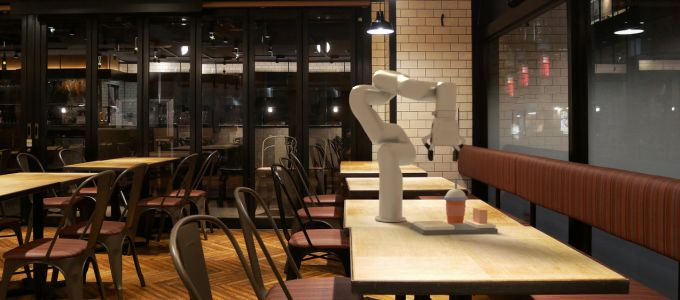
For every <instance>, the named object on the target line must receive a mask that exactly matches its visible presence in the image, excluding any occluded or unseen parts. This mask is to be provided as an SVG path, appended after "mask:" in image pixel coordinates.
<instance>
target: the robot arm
mask: <svg viewBox="0 0 680 300" xmlns="http://www.w3.org/2000/svg"><path fill="white" fill-rule="evenodd" d="M372 84H373V85H371V84H370V85H369V84H359V85H356V86H354V87H352V89H351V91H350V93H349V98H348V99H349V101H348V103H349V106H350V110H351V112H352V113H353V115H354V117H355V118H356V119H357V120H358V122H359V123H360V126H361V127H362V129H363V130H364V132H365V133H366V134H367V137H368V138H369V140H370V141H371V143H372V144H373V145H375V146H378V147H379V148H378V149H377V152H376V153H377V154H376V157H377V159H376V160H377V164H378V173H379V177H378V179H379V182H378V183H379V184H378V185H379V186H378V187H379V188H378V189H379V190H378V215H377V216H375V217H374V221H377V222H383V223H402V222H406V220H407V218H406V216H403V194H404V193H403V192H404V190H403V188H404V187H403V186H404V185H403V184H404V179H403V173H402V169H401V168H400V167H404V166H405V167H406V166H411V165H412V164H414V163H415V162H416V159H417V151H416V150H417V149H416V148H415V146H414V144H413V143H412V141H411V139H410V138H409V136H408V135H407V133H406V131H405V130H404V129H403V128H402V126H401V125H399V124H398V123H392V122H390V123H389V122H385V121H383V119H382V118H381V116H380V114H379V113H378V112H377V110H375V108H373V107H372V106H378V107H379V106H384V105H386V104H387V103H388V102H389V101H391V100H392V99H393V98H394V97H395V96H397V95H398V96H401V97H402V98H404V99H410V100H413V101H414V100H415V101H419V102H433V103H435V110H434V111H431V115H432V116H434V118H433V120H432V122H431V127H430V133H429V134H427V135H425V136H423V137H422V138H421V141H422V144H423V146H424V147H425V148H426V150H427V159H428V162H433V161H434V153H435V151H434V150H433V149H434V148H435V147H437V146H441V147H451V148H453V151H452V159H451V160H452V162H455V163H457V162H458V160H459V153H460V151H461V150H462V148H464V146H465V144H466V142H467V139H466V138H464V137H463V136H461V135H460V131H459V130H460V127H459V121H458V119H456V112H457V111H456V110H457V96H458V94H457V93H458V85H457V83H456V82H452V81H439V82H437V81H429V80H419V79H414V78H411V77H410V76H409V75H408V74H405V73H402V72H400V71H397V70H388V69H381V70H378V71H376V72H375V73H374V74H373V76H372ZM428 140H429V143H428Z"/></svg>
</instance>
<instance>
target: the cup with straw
mask: <svg viewBox="0 0 680 300" xmlns="http://www.w3.org/2000/svg"><path fill="white" fill-rule="evenodd" d="M443 199H444V200H445V211H446V219H447V220H446V221H447V222H446V223H448V224H451V223H464V221H465V220H464V218H465V213H466V201H468V196H466V193H465V191H463V190H462V189H460V188H458V177H455V178H454V188H451V189H449V190H448V191H447V193H446V194H445V195H444V197H443Z"/></svg>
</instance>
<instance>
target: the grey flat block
mask: <svg viewBox="0 0 680 300" xmlns="http://www.w3.org/2000/svg"><path fill="white" fill-rule="evenodd" d="M409 228H410V229H411V230H413V231H415V232H417V233H419V234H420V235H422V236H424V235H425V236H428V235H432V236H433V235H434V236H435V235H437V236H438V235H473V234H474V235H477V234H478V235H479V234H480V235H481V234H483V235H484V234H485V233H489V234H498V233H499V232H498V228H497V227H496V228H476V227H473V226H470V225H468V224H465V222H463V223H451V224H450V223H448V222H445V221H443V220H425V221H424V220H423V221H422V220H417V221H416V220H415V221H413V223H410V227H409Z"/></svg>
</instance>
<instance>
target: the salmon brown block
mask: <svg viewBox="0 0 680 300" xmlns="http://www.w3.org/2000/svg"><path fill="white" fill-rule="evenodd" d="M464 223H465V224H468V225H470V226H473V227H476V228H496V229H497V225H496V224H495V223H492V222H489V221H488V209H487V208H482V207H473V208H472V219H466V220H464Z"/></svg>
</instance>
